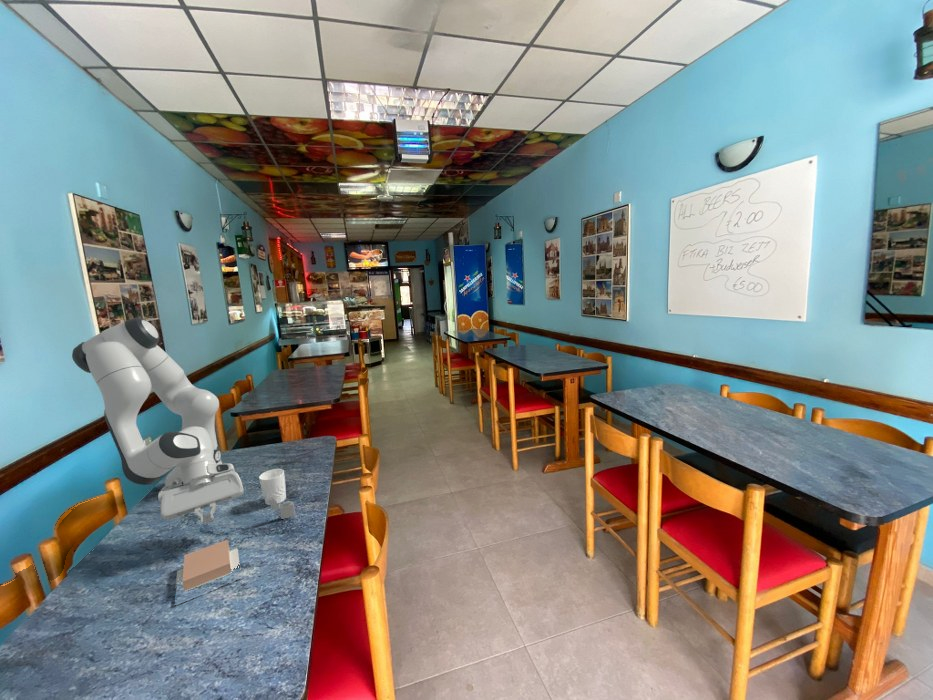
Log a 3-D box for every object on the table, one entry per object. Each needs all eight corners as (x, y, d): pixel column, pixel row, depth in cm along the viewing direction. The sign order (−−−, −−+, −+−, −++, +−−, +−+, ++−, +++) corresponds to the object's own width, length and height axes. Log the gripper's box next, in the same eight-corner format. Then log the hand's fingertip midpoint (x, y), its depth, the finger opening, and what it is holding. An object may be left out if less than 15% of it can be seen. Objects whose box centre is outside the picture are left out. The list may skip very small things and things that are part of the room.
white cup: (292, 494, 139) (288, 468, 137) (279, 506, 131) (275, 479, 129) (272, 494, 140) (267, 468, 138) (258, 506, 132) (253, 479, 130)
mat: (177, 572, 102) (177, 570, 102) (237, 549, 110) (237, 548, 110) (174, 607, 91) (173, 604, 91) (241, 579, 98) (241, 577, 98)
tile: (184, 554, 104) (182, 581, 94) (227, 539, 109) (229, 563, 99) (186, 564, 104) (184, 592, 94) (229, 548, 110) (231, 573, 100)
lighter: (295, 513, 126) (291, 491, 125) (295, 516, 125) (291, 493, 123) (271, 520, 123) (267, 497, 122) (271, 523, 122) (267, 500, 120)
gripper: (154, 485, 108) (159, 534, 102) (237, 462, 119) (246, 504, 113) (159, 493, 112) (164, 540, 106) (239, 469, 124) (247, 510, 118)
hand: (207, 521), depth 110 cm, fingers closed
